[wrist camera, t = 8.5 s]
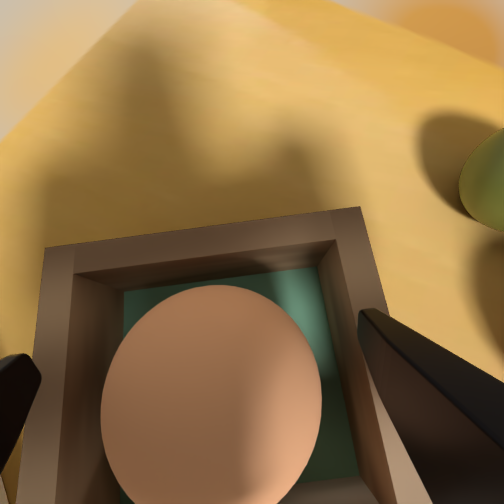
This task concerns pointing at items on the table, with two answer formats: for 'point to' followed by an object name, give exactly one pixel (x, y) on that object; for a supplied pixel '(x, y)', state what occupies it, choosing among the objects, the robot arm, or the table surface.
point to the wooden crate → (197, 275)
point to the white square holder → (3, 493)
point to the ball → (211, 401)
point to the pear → (485, 182)
